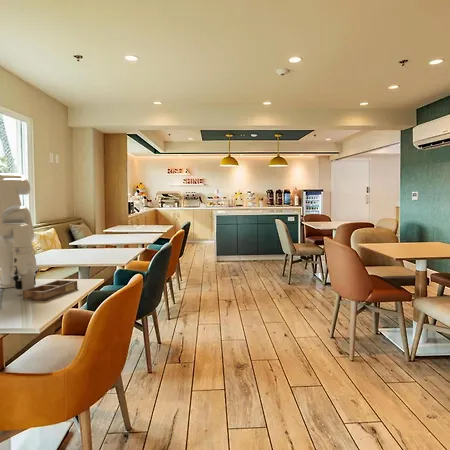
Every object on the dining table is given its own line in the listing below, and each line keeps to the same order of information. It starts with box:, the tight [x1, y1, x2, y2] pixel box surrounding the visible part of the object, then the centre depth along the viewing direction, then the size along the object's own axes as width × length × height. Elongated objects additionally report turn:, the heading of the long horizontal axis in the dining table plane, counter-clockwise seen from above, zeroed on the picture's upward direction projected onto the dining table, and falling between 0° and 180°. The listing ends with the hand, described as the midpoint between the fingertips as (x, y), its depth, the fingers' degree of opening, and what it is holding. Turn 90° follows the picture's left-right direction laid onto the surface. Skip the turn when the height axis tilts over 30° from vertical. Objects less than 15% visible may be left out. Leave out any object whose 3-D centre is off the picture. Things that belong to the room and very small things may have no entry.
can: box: [16, 269, 36, 297], centre depth 172 cm, size 8×8×12 cm
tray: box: [22, 279, 78, 302], centre depth 170 cm, size 12×22×4 cm, turn 164°
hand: (25, 286), depth 172 cm, fingers closed on can, 7 cm apart
